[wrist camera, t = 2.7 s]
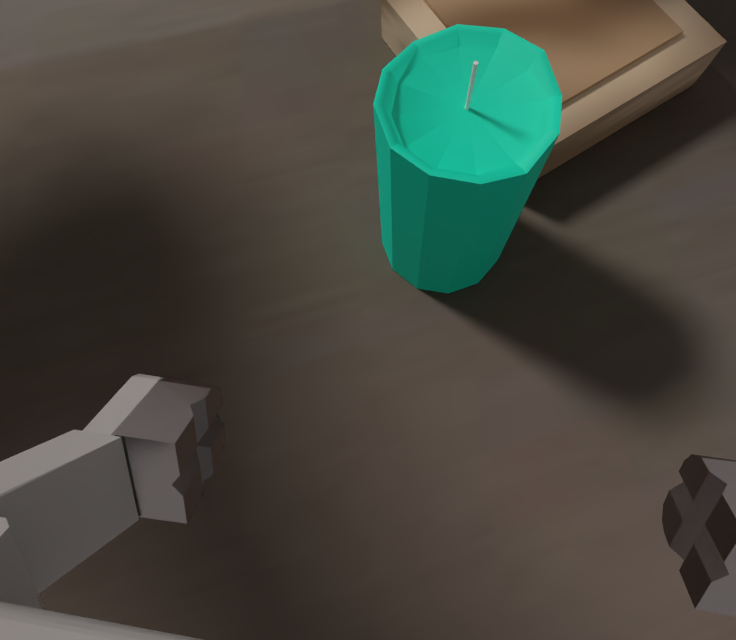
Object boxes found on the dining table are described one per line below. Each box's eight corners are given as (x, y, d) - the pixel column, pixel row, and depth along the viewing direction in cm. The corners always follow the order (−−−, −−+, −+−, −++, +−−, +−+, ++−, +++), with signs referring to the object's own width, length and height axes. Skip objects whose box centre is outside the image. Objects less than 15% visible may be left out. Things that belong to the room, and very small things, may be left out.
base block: (381, 37, 30) (380, -13, 27) (554, -59, 31) (572, -117, 28) (507, 197, 27) (521, 162, 24) (693, 84, 28) (730, 37, 25)
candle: (387, 298, 26) (379, 165, 15) (377, 189, 28) (364, -10, 16) (510, 288, 26) (601, 144, 14) (493, 178, 28) (563, -31, 16)
